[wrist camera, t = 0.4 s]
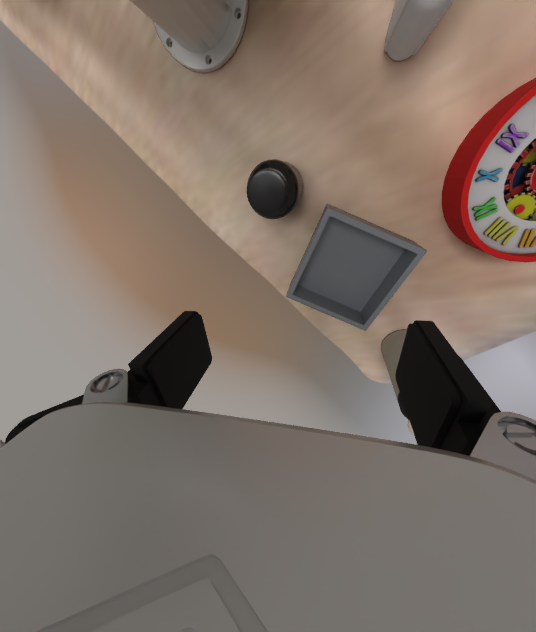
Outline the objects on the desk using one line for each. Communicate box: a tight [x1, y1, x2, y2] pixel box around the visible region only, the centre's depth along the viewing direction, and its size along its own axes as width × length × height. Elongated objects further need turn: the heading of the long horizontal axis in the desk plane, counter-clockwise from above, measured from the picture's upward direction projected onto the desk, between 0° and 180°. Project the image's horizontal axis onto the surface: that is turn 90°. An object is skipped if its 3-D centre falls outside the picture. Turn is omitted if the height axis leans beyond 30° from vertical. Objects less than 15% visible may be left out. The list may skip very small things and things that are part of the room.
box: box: [286, 204, 427, 331], centre depth 38 cm, size 15×15×6 cm
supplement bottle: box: [247, 160, 303, 219], centre depth 32 cm, size 7×7×12 cm
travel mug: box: [381, 330, 415, 436], centre depth 39 cm, size 8×8×18 cm
